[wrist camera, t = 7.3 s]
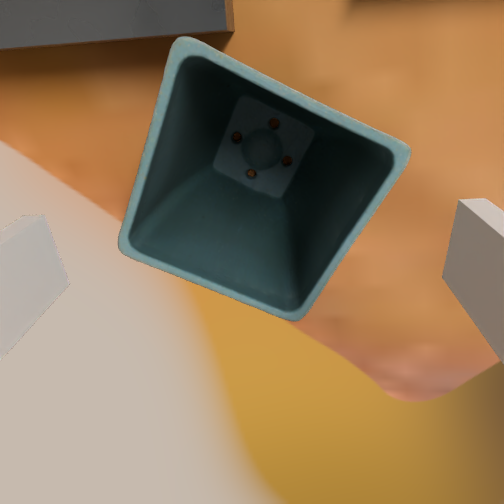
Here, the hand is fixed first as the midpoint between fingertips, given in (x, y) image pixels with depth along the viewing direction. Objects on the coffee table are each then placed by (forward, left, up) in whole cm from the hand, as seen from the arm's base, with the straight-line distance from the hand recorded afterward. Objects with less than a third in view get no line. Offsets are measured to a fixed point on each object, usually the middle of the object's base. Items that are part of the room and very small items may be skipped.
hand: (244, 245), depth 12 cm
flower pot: (0, 0, -12) cm, 12 cm away
